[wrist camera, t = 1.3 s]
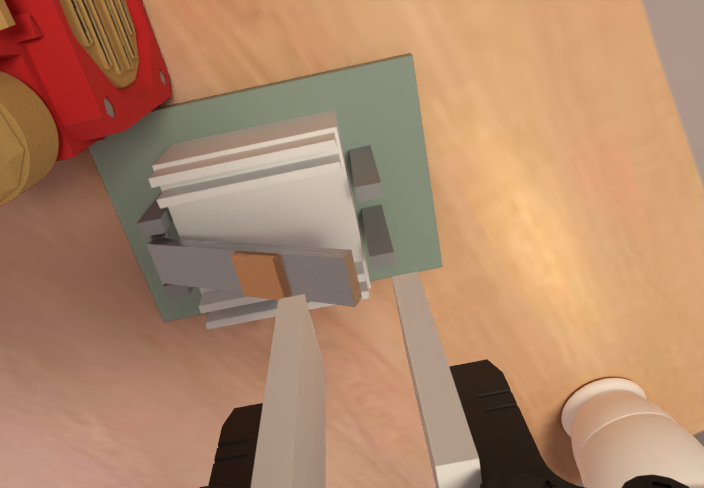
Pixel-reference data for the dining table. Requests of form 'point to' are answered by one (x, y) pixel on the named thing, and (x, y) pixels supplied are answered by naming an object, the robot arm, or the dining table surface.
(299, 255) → the strap
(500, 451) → the robot arm
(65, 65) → the radio
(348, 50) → the dining table surface
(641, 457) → the jar
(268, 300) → the heatsink
